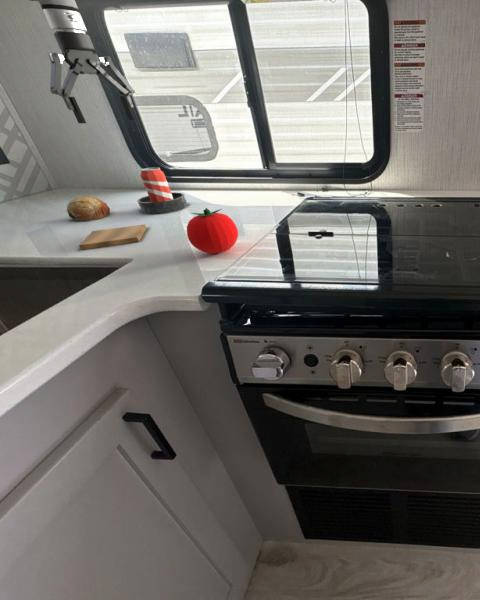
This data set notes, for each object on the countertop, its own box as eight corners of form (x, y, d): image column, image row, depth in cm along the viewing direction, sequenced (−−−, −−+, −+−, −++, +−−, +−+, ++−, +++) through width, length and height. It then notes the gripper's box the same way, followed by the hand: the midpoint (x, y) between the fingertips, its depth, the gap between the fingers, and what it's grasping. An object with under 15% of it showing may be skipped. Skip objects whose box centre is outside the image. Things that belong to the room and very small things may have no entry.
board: (81, 249, 81) (78, 245, 80) (94, 235, 89) (92, 231, 89) (139, 241, 85) (137, 237, 84) (146, 228, 93) (145, 224, 93)
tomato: (190, 250, 79) (174, 209, 74) (235, 240, 85) (223, 200, 80) (200, 264, 72) (184, 220, 67) (248, 252, 78) (237, 210, 73)
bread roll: (75, 229, 104) (50, 209, 98) (99, 207, 109) (76, 187, 103) (98, 232, 102) (73, 212, 95) (121, 209, 107) (99, 189, 100)
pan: (138, 216, 103) (133, 205, 101) (146, 205, 114) (141, 195, 112) (185, 210, 108) (182, 199, 106) (189, 200, 118) (185, 190, 116)
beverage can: (179, 205, 112) (166, 167, 105) (161, 210, 107) (145, 171, 101) (168, 203, 114) (154, 166, 108) (149, 208, 109) (133, 170, 103)
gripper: (15, 24, 78) (65, 125, 89) (128, 37, 97) (157, 119, 108) (2, 27, 81) (51, 124, 92) (114, 39, 100) (144, 118, 111)
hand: (108, 121), depth 100 cm, fingers open, 13 cm apart
